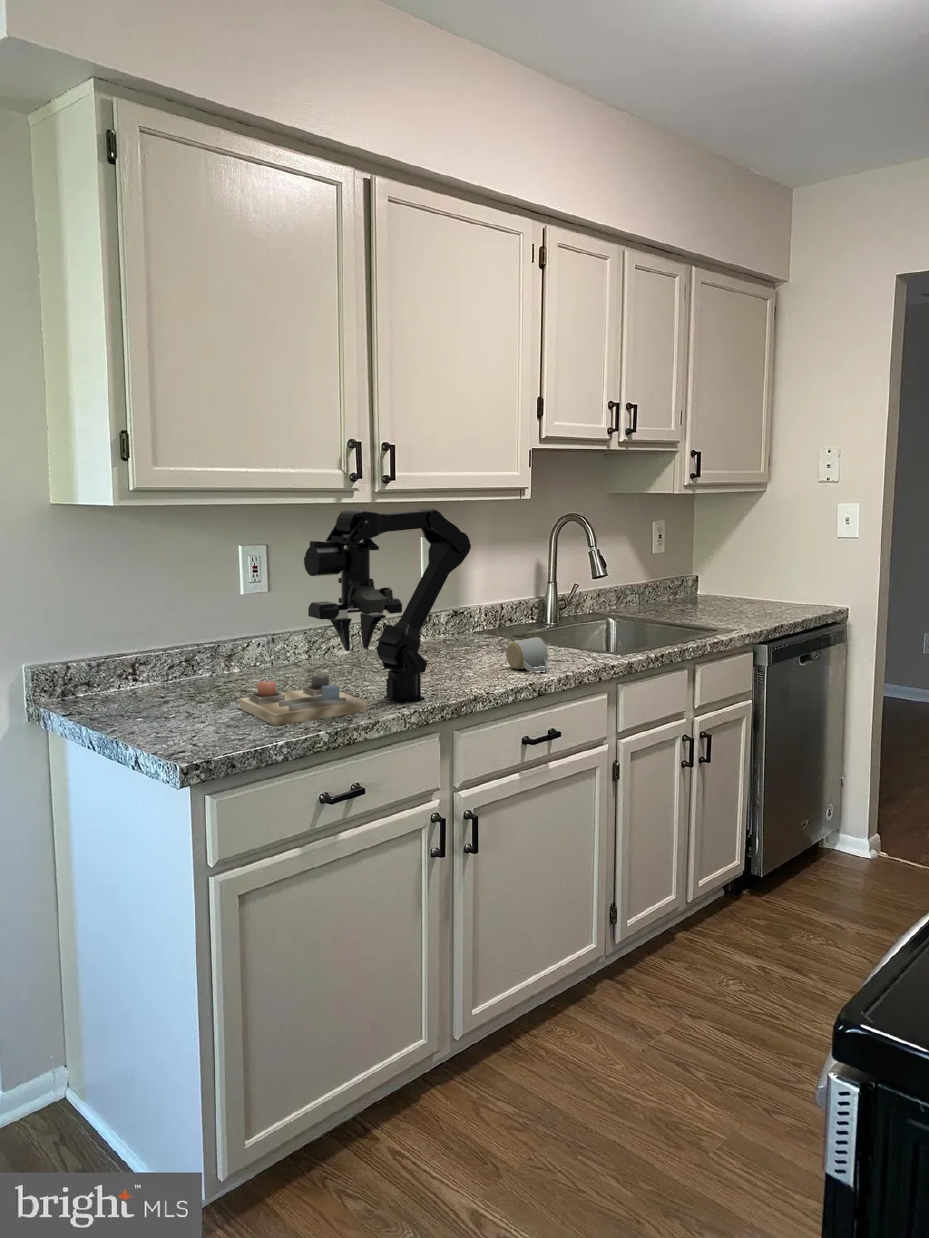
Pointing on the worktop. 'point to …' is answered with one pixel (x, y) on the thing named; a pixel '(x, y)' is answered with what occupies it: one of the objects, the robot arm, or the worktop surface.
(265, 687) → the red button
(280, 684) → the worktop surface
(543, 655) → the ceramic mug
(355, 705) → the control panel
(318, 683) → the black button
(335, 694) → the slider knob
